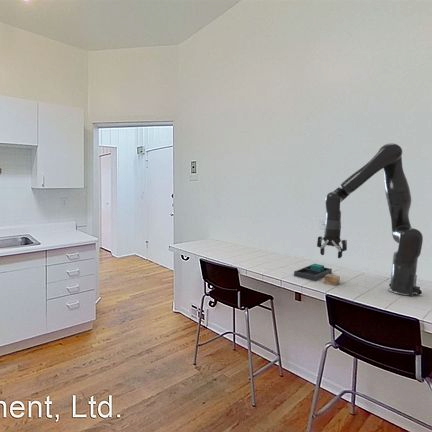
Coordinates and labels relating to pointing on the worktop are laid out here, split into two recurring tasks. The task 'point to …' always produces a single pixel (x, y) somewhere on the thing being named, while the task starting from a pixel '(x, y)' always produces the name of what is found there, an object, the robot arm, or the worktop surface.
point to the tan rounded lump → (332, 279)
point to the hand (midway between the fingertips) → (330, 256)
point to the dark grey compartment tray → (311, 273)
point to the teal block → (317, 267)
